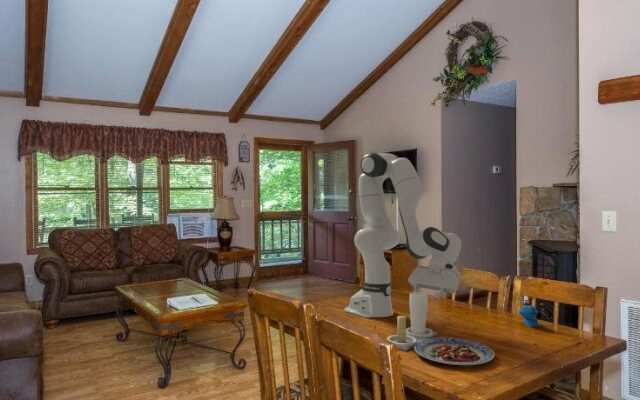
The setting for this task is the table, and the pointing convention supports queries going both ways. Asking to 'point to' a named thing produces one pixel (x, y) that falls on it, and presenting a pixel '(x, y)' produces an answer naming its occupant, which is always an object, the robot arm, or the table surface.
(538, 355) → the table surface
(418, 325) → the drinking glass
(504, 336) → the table surface
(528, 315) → the blue lumpy upright piece
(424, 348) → the ceramic plate
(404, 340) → the candle holder dish
